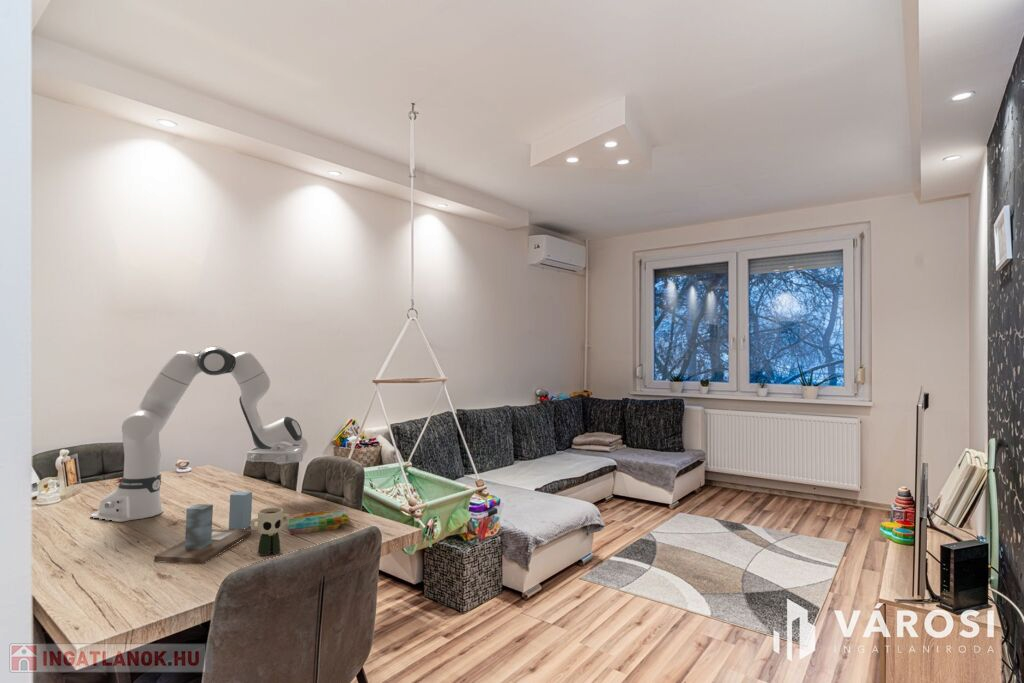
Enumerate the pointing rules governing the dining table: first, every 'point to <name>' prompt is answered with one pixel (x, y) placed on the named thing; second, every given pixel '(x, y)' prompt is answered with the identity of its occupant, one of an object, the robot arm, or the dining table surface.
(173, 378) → the robot arm
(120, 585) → the dining table surface
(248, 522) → the pillar block
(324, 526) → the puzzle game
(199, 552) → the base board
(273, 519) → the character mug
